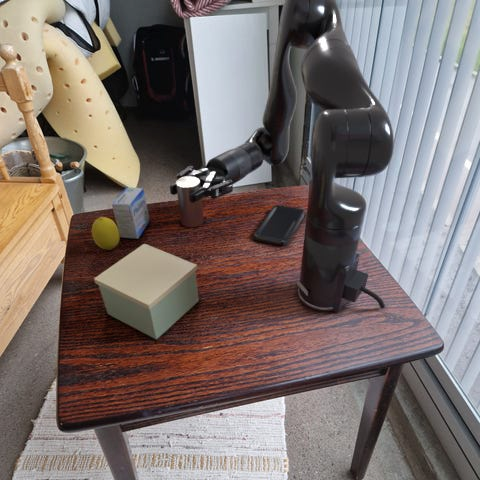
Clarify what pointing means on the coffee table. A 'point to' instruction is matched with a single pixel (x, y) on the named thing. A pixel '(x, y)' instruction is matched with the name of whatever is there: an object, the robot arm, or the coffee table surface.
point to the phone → (279, 225)
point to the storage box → (149, 289)
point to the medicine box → (131, 212)
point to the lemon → (105, 233)
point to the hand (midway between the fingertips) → (181, 194)
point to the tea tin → (188, 210)
